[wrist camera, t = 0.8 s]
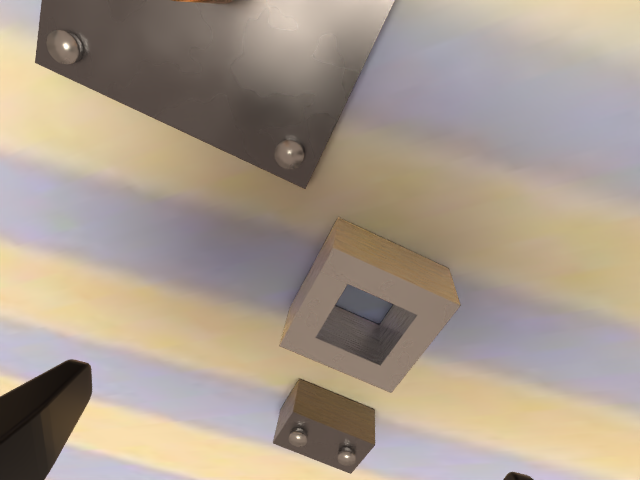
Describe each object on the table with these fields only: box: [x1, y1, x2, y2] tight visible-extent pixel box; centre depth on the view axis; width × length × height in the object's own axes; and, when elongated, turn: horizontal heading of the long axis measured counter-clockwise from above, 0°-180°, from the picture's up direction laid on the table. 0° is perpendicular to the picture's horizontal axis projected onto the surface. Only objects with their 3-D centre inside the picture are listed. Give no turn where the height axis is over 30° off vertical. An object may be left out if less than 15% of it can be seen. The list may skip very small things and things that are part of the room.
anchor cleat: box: [273, 379, 375, 474], centre depth 25 cm, size 5×3×3 cm, turn 65°
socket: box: [279, 217, 461, 393], centre depth 21 cm, size 6×6×3 cm
